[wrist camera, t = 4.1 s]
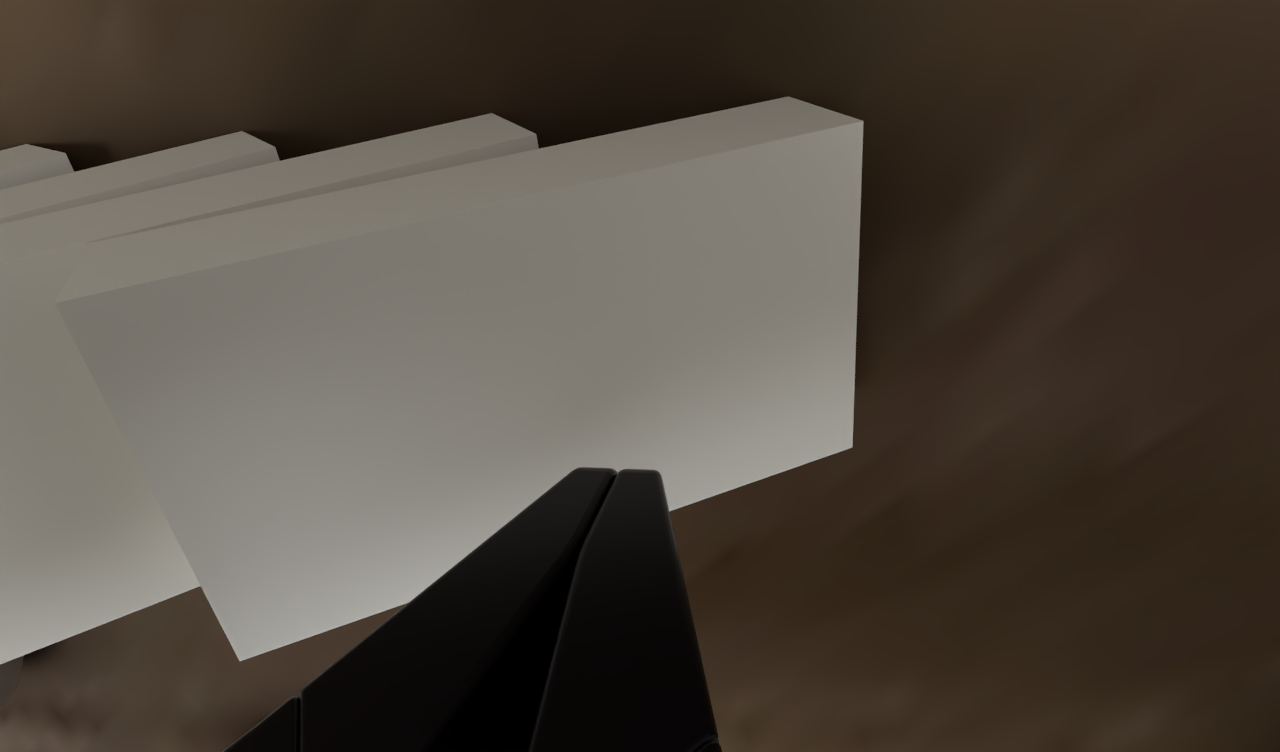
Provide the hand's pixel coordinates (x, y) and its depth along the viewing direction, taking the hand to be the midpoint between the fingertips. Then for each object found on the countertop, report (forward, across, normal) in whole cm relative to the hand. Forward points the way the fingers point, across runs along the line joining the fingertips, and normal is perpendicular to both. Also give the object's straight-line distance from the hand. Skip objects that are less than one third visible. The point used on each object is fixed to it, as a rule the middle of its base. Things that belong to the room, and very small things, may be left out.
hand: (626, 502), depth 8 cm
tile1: (+5, -2, 0) cm, 6 cm away
